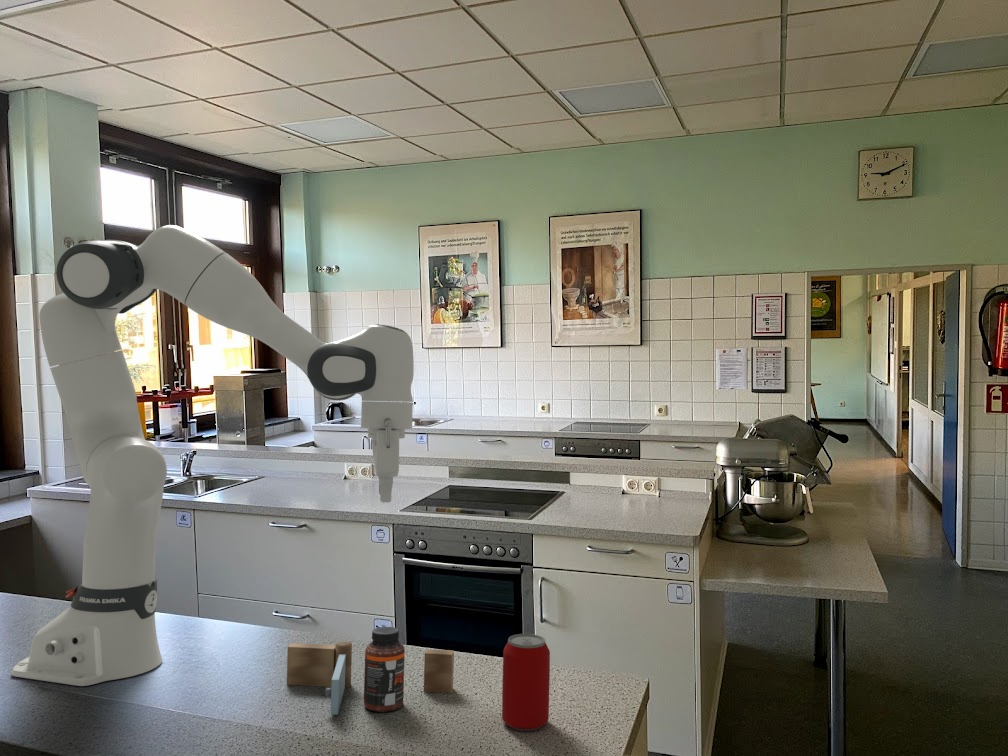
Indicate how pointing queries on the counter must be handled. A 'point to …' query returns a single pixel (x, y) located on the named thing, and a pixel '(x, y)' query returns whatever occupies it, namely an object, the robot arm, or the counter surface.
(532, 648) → the beverage can
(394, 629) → the supplement bottle
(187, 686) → the counter surface
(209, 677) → the counter surface
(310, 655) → the door frame
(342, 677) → the door
